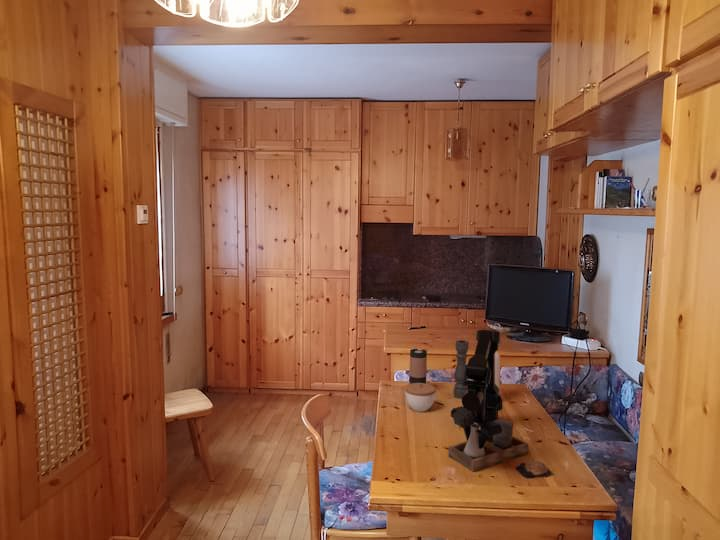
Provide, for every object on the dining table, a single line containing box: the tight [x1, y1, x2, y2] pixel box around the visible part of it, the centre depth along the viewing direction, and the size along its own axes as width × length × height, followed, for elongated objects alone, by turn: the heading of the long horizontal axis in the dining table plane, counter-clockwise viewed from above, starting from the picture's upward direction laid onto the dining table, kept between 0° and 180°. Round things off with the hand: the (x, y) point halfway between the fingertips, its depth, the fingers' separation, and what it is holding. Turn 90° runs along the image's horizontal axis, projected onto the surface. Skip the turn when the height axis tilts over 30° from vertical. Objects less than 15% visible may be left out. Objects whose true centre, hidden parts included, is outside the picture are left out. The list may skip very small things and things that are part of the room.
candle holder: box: [453, 339, 470, 400], centre depth 229 cm, size 6×6×25 cm
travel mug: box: [409, 348, 428, 384], centre depth 232 cm, size 8×8×20 cm
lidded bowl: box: [404, 382, 436, 413], centre depth 215 cm, size 13×13×11 cm
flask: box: [463, 423, 485, 458], centre depth 170 cm, size 7×7×10 cm
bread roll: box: [514, 460, 555, 480], centre depth 164 cm, size 11×8×4 cm
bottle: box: [495, 350, 501, 389], centre depth 223 cm, size 8×8×30 cm
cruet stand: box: [448, 418, 529, 473], centre depth 174 cm, size 25×12×10 cm, turn 121°
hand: (474, 445), depth 171 cm, fingers closed on flask, 5 cm apart
